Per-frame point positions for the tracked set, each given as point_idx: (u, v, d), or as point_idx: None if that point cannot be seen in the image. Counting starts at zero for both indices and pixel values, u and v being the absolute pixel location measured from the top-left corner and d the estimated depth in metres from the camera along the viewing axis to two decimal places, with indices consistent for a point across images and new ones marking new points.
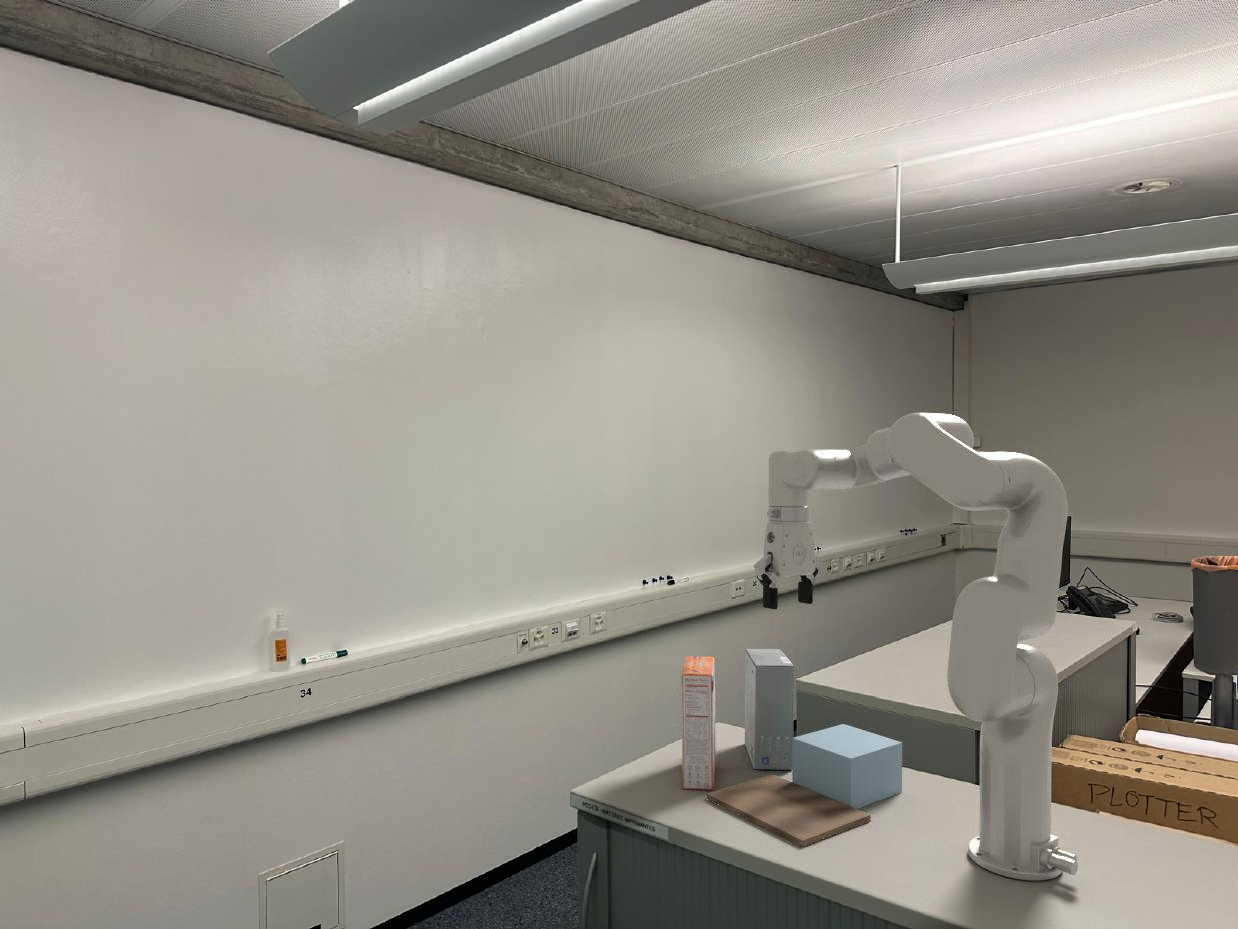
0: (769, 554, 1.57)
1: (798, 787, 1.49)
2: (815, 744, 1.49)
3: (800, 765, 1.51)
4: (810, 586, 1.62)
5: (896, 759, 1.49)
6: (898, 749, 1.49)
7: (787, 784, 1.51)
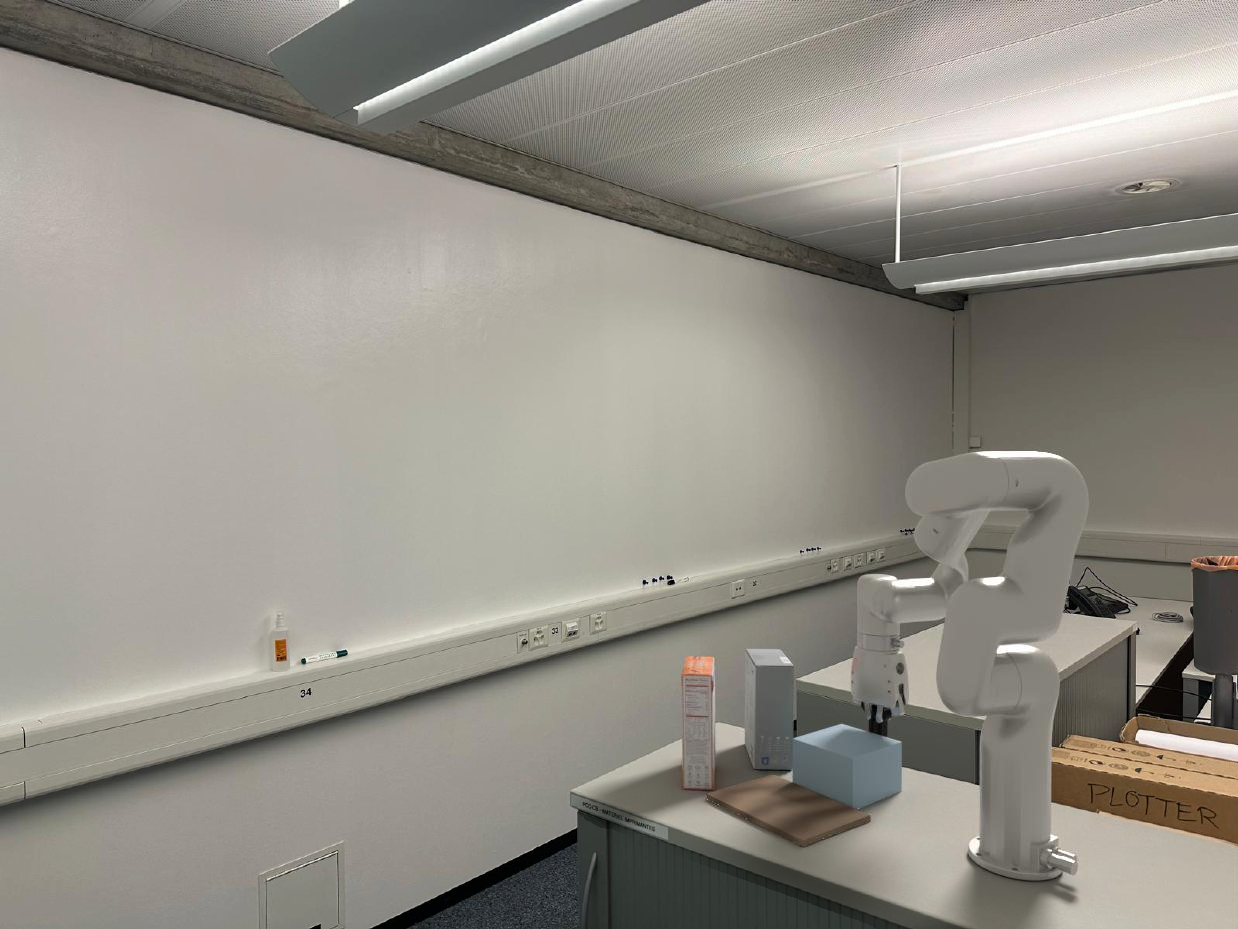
0: (898, 692, 1.52)
1: (798, 787, 1.49)
2: (816, 745, 1.49)
3: (800, 766, 1.51)
4: None
5: (896, 758, 1.49)
6: (898, 749, 1.50)
7: (787, 784, 1.51)
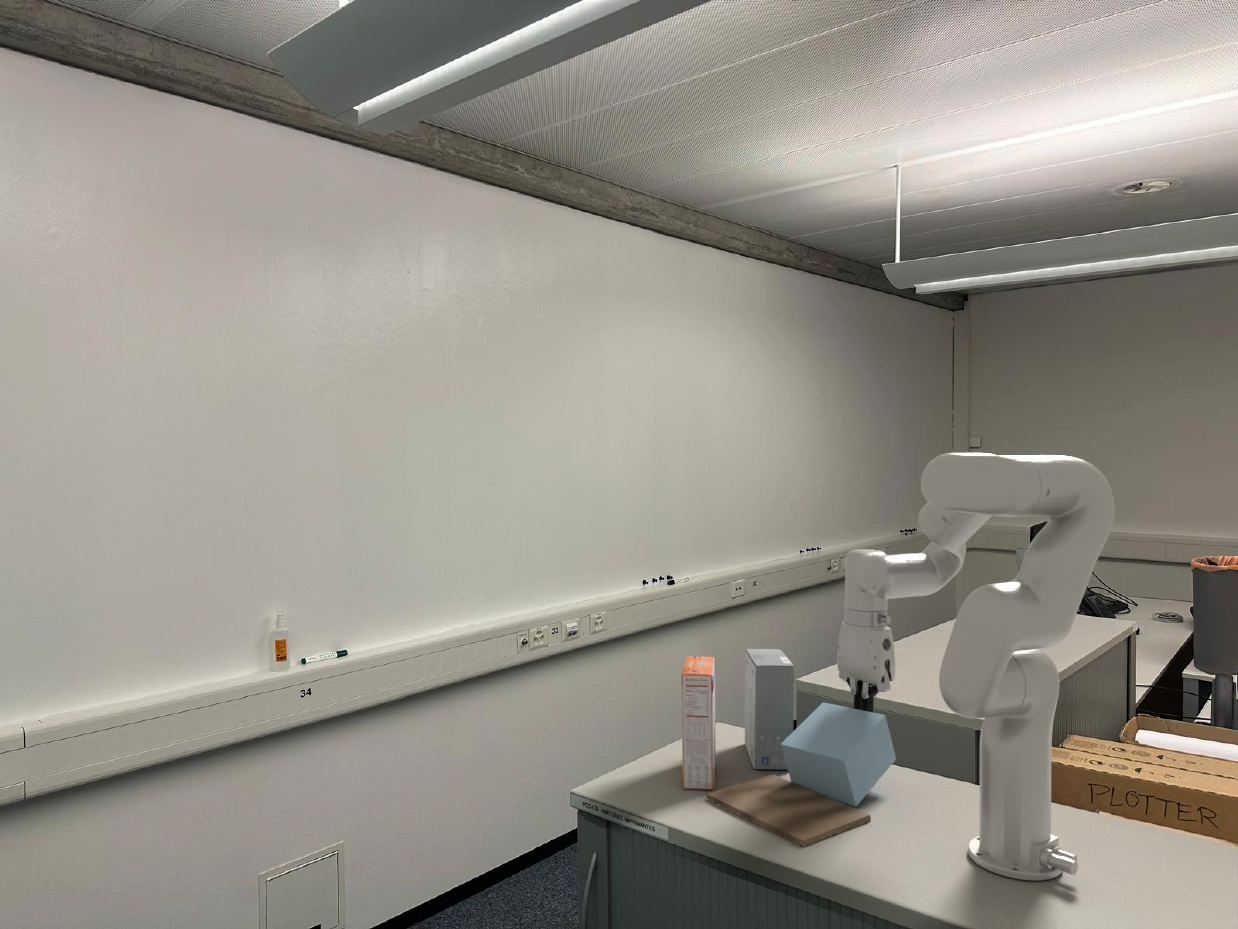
0: (885, 668, 1.51)
1: (798, 787, 1.49)
2: (804, 748, 1.47)
3: (795, 768, 1.50)
4: None
5: (884, 733, 1.49)
6: (883, 723, 1.49)
7: (787, 784, 1.51)
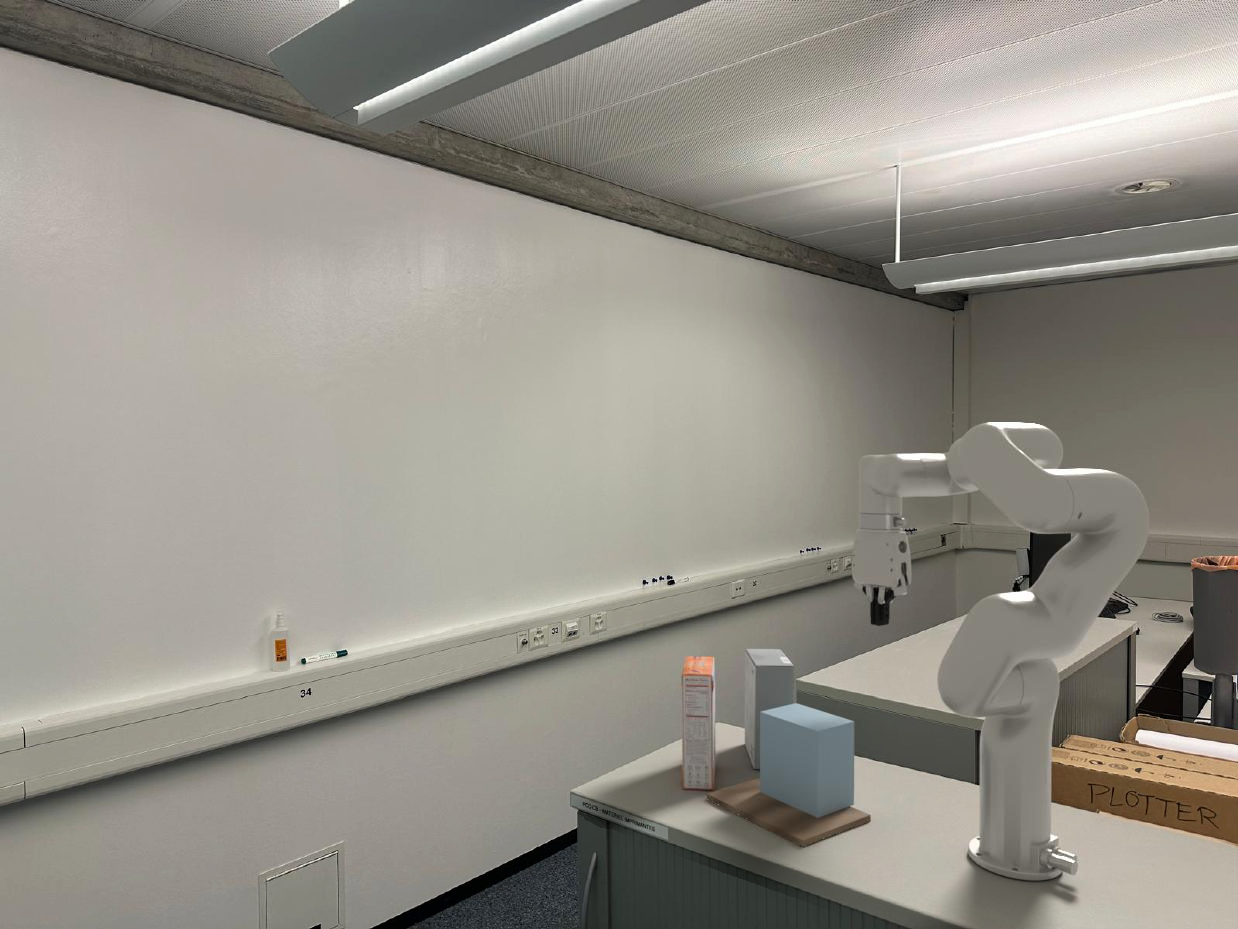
0: (901, 571, 1.50)
1: None
2: (780, 797, 1.43)
3: None
4: None
5: (828, 738, 1.38)
6: (822, 736, 1.37)
7: None
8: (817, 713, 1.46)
